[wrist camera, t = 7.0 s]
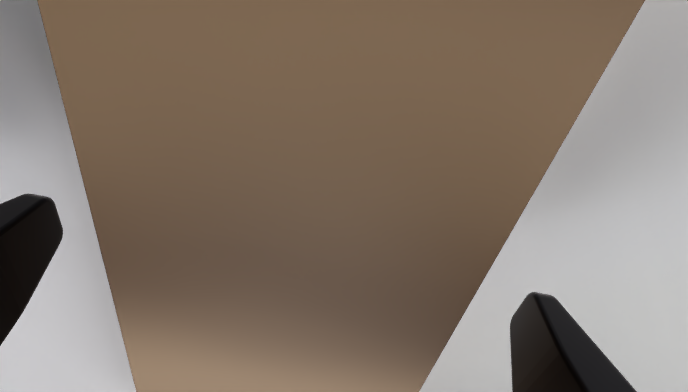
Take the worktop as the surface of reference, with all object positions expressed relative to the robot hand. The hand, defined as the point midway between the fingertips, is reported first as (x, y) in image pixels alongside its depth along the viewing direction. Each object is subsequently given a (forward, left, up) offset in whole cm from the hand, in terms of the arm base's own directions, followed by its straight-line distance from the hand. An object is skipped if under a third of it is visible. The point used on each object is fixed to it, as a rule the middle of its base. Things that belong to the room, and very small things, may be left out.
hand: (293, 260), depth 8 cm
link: (-1, 0, -2) cm, 2 cm away
